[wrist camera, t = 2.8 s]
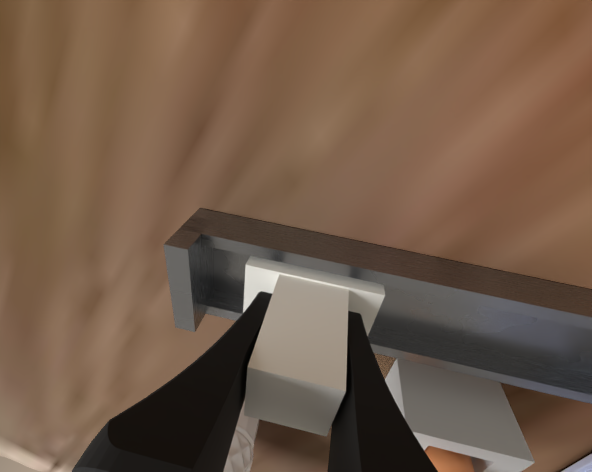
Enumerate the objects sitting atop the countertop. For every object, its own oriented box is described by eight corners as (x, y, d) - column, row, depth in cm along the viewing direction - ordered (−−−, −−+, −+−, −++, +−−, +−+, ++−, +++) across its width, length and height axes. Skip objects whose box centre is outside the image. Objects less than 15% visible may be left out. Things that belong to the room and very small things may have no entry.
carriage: (382, 276, 13) (398, 402, 8) (364, 323, 15) (368, 448, 10) (253, 248, 13) (199, 353, 9) (250, 297, 15) (204, 406, 11)
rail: (684, 308, 13) (773, 378, 10) (601, 373, 15) (654, 441, 13) (199, 208, 14) (163, 244, 11) (203, 283, 17) (175, 327, 14)
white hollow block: (499, 381, 17) (534, 462, 14) (461, 422, 20) (482, 497, 16) (396, 357, 17) (406, 430, 14) (373, 400, 20) (377, 469, 17)
